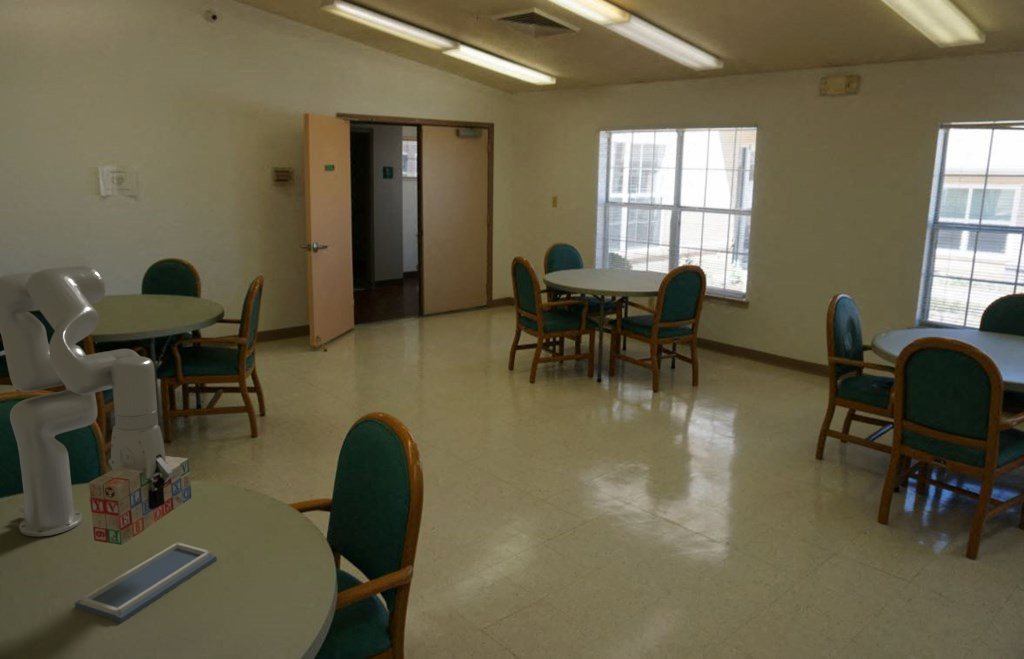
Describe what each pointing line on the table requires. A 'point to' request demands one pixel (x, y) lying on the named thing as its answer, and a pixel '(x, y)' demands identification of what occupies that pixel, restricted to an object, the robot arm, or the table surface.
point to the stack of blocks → (134, 501)
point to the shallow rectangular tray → (146, 582)
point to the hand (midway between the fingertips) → (143, 502)
